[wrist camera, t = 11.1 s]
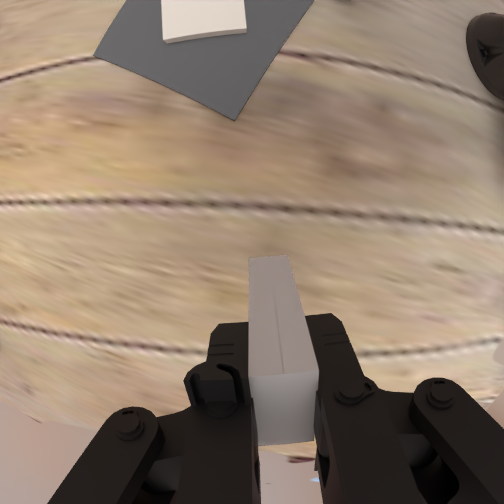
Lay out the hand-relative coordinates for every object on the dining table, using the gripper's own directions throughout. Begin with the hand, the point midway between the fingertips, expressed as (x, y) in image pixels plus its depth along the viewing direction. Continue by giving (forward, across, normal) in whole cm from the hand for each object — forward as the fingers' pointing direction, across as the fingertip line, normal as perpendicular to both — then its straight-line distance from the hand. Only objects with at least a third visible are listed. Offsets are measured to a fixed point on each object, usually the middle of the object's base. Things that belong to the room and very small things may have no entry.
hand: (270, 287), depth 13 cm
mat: (+29, +5, -22) cm, 37 cm away
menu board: (+28, +5, -19) cm, 34 cm away
